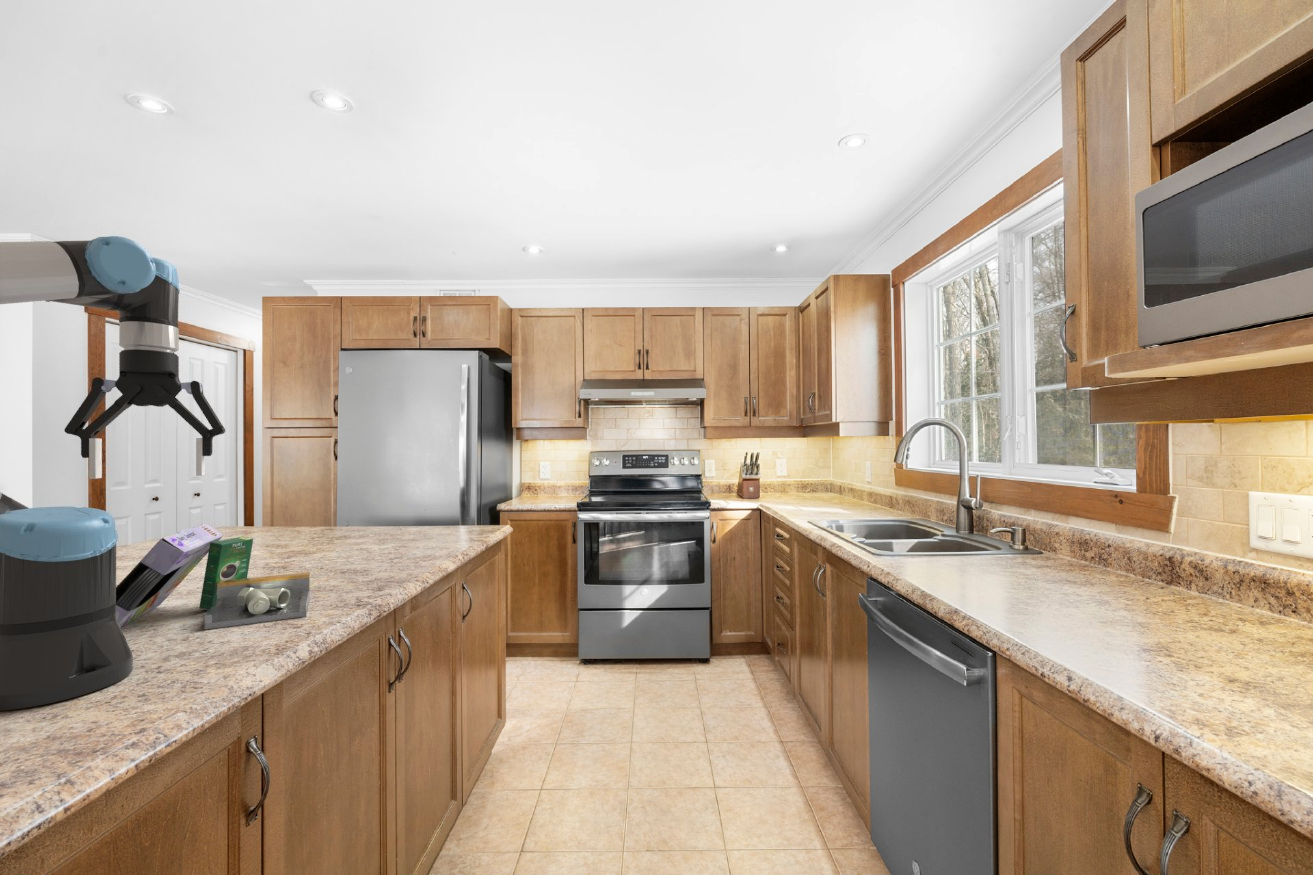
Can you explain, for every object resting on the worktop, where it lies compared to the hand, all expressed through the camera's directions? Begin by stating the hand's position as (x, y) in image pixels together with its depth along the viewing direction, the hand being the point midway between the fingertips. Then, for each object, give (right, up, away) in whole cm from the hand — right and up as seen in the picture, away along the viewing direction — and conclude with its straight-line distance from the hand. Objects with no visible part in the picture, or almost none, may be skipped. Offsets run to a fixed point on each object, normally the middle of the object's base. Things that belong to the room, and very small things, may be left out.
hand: (149, 477), depth 96 cm
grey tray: (+11, -27, +11) cm, 31 cm away
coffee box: (-1, -27, +18) cm, 32 cm away
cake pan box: (-11, -26, +7) cm, 29 cm away
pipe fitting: (+11, -26, +10) cm, 30 cm away
